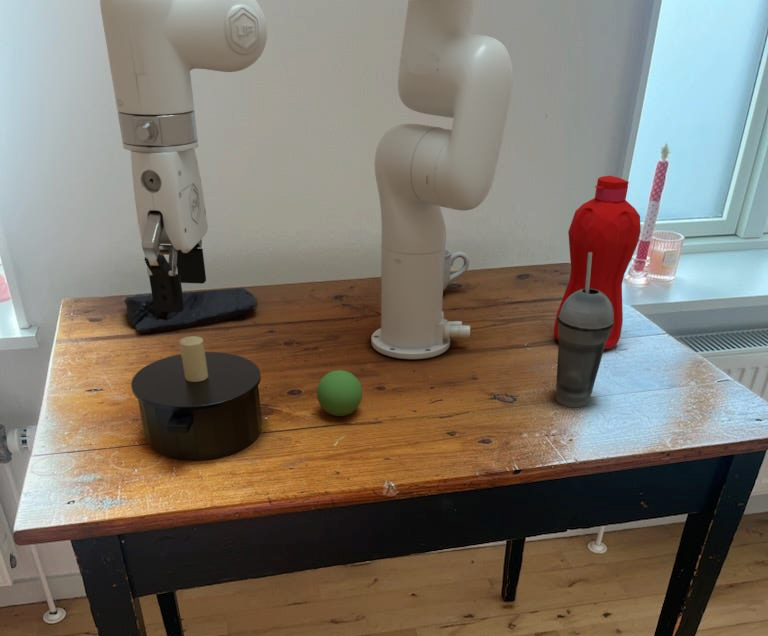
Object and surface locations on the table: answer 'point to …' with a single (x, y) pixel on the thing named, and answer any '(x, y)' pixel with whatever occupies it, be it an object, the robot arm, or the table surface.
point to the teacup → (449, 262)
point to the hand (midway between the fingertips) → (181, 295)
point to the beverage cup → (581, 342)
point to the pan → (203, 429)
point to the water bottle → (603, 246)
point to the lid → (195, 379)
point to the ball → (339, 393)
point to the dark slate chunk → (191, 309)
